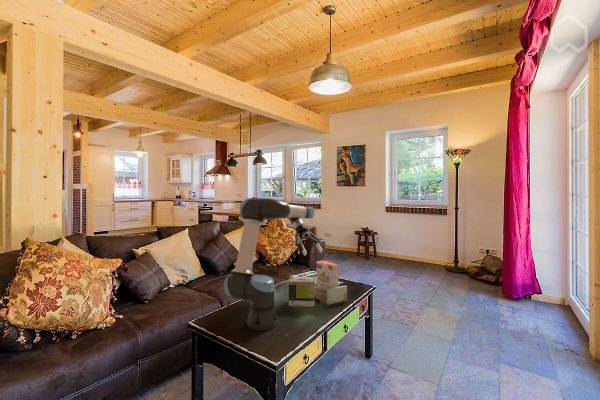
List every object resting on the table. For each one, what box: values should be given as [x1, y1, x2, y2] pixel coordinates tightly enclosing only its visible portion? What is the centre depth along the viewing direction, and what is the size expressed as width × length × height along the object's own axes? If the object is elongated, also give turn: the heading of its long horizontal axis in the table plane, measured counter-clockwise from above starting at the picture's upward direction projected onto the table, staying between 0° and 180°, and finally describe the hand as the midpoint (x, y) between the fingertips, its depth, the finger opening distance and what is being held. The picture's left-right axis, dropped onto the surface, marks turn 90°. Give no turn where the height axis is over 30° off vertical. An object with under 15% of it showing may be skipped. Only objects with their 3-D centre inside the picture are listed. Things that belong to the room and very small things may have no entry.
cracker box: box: [315, 260, 339, 294], centre depth 182 cm, size 14×6×21 cm, turn 40°
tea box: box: [288, 276, 316, 308], centre depth 173 cm, size 15×10×15 cm, turn 84°
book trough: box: [315, 285, 348, 306], centre depth 182 cm, size 14×17×9 cm
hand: (313, 253), depth 191 cm, fingers open, 13 cm apart
